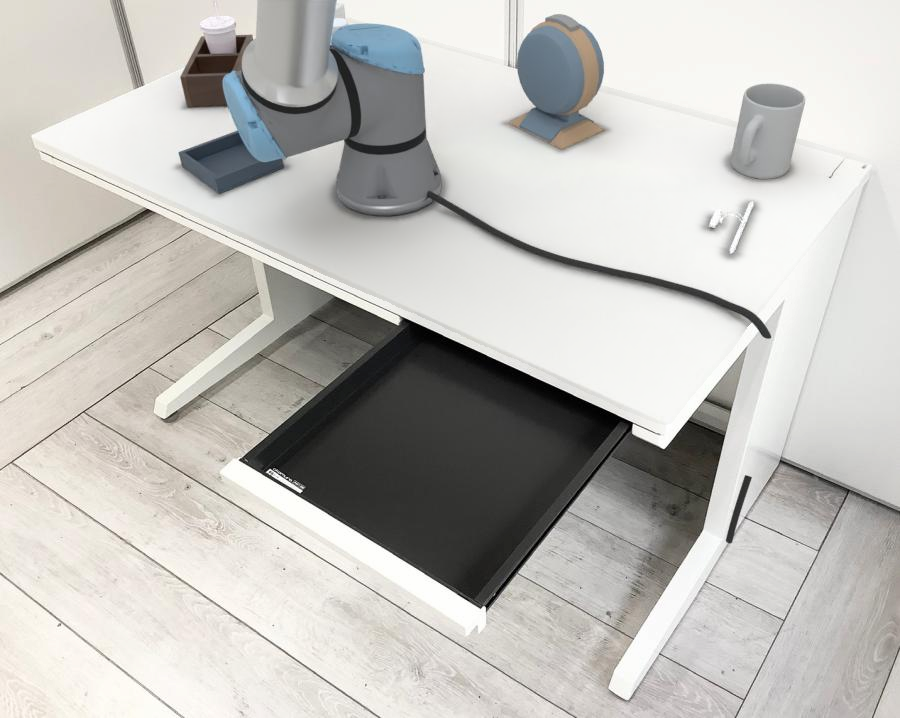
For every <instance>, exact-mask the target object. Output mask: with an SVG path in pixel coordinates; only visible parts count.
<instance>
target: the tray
mask: <svg viewBox="0 0 900 718" xmlns="http://www.w3.org/2000/svg"><path fill="white" fill-rule="evenodd" d="M178 156H179V161H180V164H181V167H182V168H183V169H184V170H186V172H188V173H190V174H191V175H192V176H194V177H195V178H197V180H199V181H200V182H202V183H203V184H205V185H206V186H207V187H209V188H210V189H211V190H213V191H214V192H215V193H217V194H218V195H220V194H222V193H225V192H227V191H230V190H233V189H235V188H238V187H239V186H243V185H245V184H247V183H250V182H253V181H255V180H258V179H260V178H262V177H265V176H267V175H270V174H271V173H275V172H277V171H279V170H282V169H284V168H285V166H284V159H282V158H281V159H277V160H273V161H269V162H261V161H259V160H257V159H256V158H254V157H253V156H252V155H251V153H250V152H249V151H248V149H247V147H246V146H245V144H244V142H243V140H242V138H241V136H240V134H239V132H238V130H237V129H236V130H234V131H232V132H230V133H227V134H224V135H221V136H218V137H216V138H213V139H211V140H207V141H205V142H202V143H199V144H197V145H194V146H191V147H189V148H186V149H183V150H181V151H178Z"/></svg>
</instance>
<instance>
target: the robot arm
mask: <svg viewBox="0 0 900 718" xmlns="http://www.w3.org/2000/svg"><path fill="white" fill-rule="evenodd" d="M256 1H257V2H256V21H255V22H256V23H255V24H256V26H255V38H253V41H252V42H251V43H250V44H249V45H248V46H247V47H246V49H245V51H244V53H243V57H242V70H241V71H237V72H236V71H232V72H231V73H229V74H227V75H225V76H224V78H223V90H224V95H225V98H226V102H227V105H228V106H227V109H228V110H229V113H230V116H231V119H232V121H233V124H234V126H235V129H236V131H237V130H238V132H239V134H240V136H241V138H242V140H243V142H244V144H245V146H246V147H247V149H248V151H249V152H250V153H251V155H252V156H253V157H254V158H256V159H257V160H259V161H261V162H269V161H273V160H277V159H281V158H282V159H283V160H286V159H288V158H291V157H293V156H296V155H300V154H304V153H306V152H310V151H312V150H316V149H319V148H322V147H325V146H328V145H332V144H335V143H338V142H341V141H343V147H342V153H341V156H340V157H341V159H340V162H339V169H338V172H337V174H336V180H335V181H336V183H335V184H336V193H337V197H338V199H339V201H340V202H341V203H342V204H343V205H344V206H345V207H346V208H348V209H350V210H352V211H355V212H356V213H357V212H358V213H361V214H365V215H370V216H382V217H383V216H386V217H387V216H388V217H389V216H398V215H405V214H408V213H413V212H415V211H419V210H421V209H423V208H425V207H427V206H428V205H430V204H431V203H433V202H435V203H438V204H440V205H441V206H443V207H444V208H446V209H448V210H449V211H451V212H453V213H455V214H457V215H458V216H460V217H462V218H464V219H465V220H466V221H468V222H470V223H472V224H473V225H475V226H477V227H478V228H480V229H482V230H483V231H485V232H487V233H488V234H491V235H492V236H494V237H496V238H498V239H500V240H502V241H504V242H506V243H508V244H510V245H512V246H514V247H515V248H516V247H517V248H518V249H520V250H523V251H526V252H528V253H531V254H533V255H536V256H538V257H542V258H544V259H547V260H549V261H552V262H556V263H560V264H563V265H567V266H571V267H575V268H579V269H583V270H588V271H592V272H596V273H599V274H604V275H608V276H613V277H617V278H622V279H626V280H632V281H636V282H641V283H644V284H645V283H646V284H649V285H654V286H657V287H660V288H664V289H668V290H672V291H676V292H680V293H682V294H687V295H690V296H693V297H696V298H699V299H701V300H705V301H707V302H710V303H712V304H714V305H717V306H718V307H720V308H723V309H725V310H729V311H731V312H733V313H736V314H738V315H740V316H743V317H744V318H745V319H747V320H748V321H749V322H751V323H752V324H753V326H754V327H755V328H756V330H758V332H759V334H760V335H761V337H762V338H764V339H767V340H770V339H772V334H771V332H770V330H769V329H768V327H767V326H766V324H765V323H764V321H763V320H762V319H761V318H760V316H758V315H756V313H754V312H752V311H751V310H749V309H748V308H746V307H743V306H741V305H740V304H736V303H733V302H731V301H728V300H726V299H724V298H722V297H720V296H717V295H715V294H712V293H709V292H707V291H704V290H702V289H698V288H695V287H691V286H688V285H684V284H680V283H677V282H673V281H670V280H665V279H663V278H659V277H654V276H650V275H647V274H646V275H645V274H642V273H637V272H631V271H627V270H622V269H617V268H614V267H610V266H604V265H600V264H596V263H592V262H587V261H583V260H580V259H579V260H578V259H576V258H575V259H574V258H571V257H567V256H563V255H560V254H556V253H554V252H551V251H547V250H544V249H542V248H540V247H537V246H534V245H531V244H529V243H526V242H525V241H522V240H519V239H517V238H516V237H513V236H512V235H509V234H507V233H505V232H503V231H501V230H499V229H497V228H495V227H493V226H492V225H490V224H489V223H486V222H485V221H483V220H482V219H479V217H477V216H475V215H474V214H471V213H470V212H468V211H467V210H465V209H463V208H462V207H460V206H458V205H456V204H454V203H453V202H451V201H449V200H447V199H445V198H444V197H443V196H440V194H441V190H442V175H441V172H440V168H439V166H438V163H437V160H436V157H435V156H434V152H433V150H432V148H431V146H430V143H429V140H428V137H427V121H426V99H425V77H424V74H425V66H424V59H423V53H422V52H423V51H422V46H421V42H420V41H419V40H418V38H417V37H416V36H414V34H412V33H410V32H409V31H407V30H405V29H403V28H398V27H396V26H393V25H388V24H382V23H381V24H380V23H353V24H348V25H346V26H343V27H340V28H339V29H338V30H336V31H335V32H334V33H333V35H332V29H333V22H334V16H335V9H336V3H338V2H337V1H338V0H256ZM331 36H332V39H331ZM330 43H331V44H332V46H333V47H331V48H330ZM752 479H753V476H751V475H746V474H745V475H744V476H743V480H742V483H741V486H740V489H739V492H738V495H737V499H736V500H735V501H736V502H735V505H734V508H733V511H732V515H731V518H730V522H729V526H728V530H727V532H726V537H725V543H727V544H732V543H733V541H734V537H735V532H736V529H737V526H738V522H739V519H740V515H741V513H742V509H743V506H744V503H745V500H746V498H747V493H748V491H749V488H750V485H751V482H752Z"/></svg>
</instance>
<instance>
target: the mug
mask: <svg viewBox="0 0 900 718" xmlns="http://www.w3.org/2000/svg"><path fill="white" fill-rule="evenodd" d="M805 104H806V96H805V95H804V93H803V92H802V91H800V90H799V89H797V88H794V87H792V86H789V85H785V84H781V83H759V84H755V85H751V86H749V87H748V88H747V89H745V91H744V93H743V96H742V100H741V107H740V110H739V116H738V121H737V126H736V131H735V136H734V141H733V146H732V150H731V155H730V165H731V167H732V169H734V170H735V171H736V172H737V173H739V174H740V175H743V176H746V177H749V178H754V179H760V180H769V179H776V178H781V177H782V176H784V175H785V174H786V173H787V172H788V171H789V170H790V167H791V163H792V158H793V153H794V151H795V145H796V143H797V142H796V141H797V138H798V133H799V129H800V126H801V121H802V117H803V113H804V109H805Z"/></svg>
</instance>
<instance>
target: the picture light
mask: <svg viewBox="0 0 900 718" xmlns="http://www.w3.org/2000/svg"><path fill="white" fill-rule="evenodd" d="M754 203H755V202H754V201H753V200H751V201H750V202H748V204H747V207H746V210H745V212H744V214H743V216H742V214H741V213H739V212H738V211H733V213H735V214H731V213H732V211H728V212H726V213H724V214H723V216H722V210H721V209H715V210H714V212H713V214H712V216H711V219H710V221H709V226H708V227H709V228H712V229H716V227H717V225H719V224H722V223H723V221H724V219H725V218H726V217H728V216H729V217H731V216H733V217H736V218H737V219H738V220H739V221H740V224H739V226H738V229H737V230H736V234H735V236H734V238H733V241H732V242H731V245H730V247H729V254H730V255H732V254H734V252H735V251H736V250H737V246H738V244H739V241H740V239H741V236H742V234H743V231H744V229H745V227H746V225H747V223H748V220H749V217H750V215H751V212H752V210H753V208H754ZM736 214H737V215H736ZM738 215H739V216H738ZM740 217H741V218H740Z"/></svg>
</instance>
